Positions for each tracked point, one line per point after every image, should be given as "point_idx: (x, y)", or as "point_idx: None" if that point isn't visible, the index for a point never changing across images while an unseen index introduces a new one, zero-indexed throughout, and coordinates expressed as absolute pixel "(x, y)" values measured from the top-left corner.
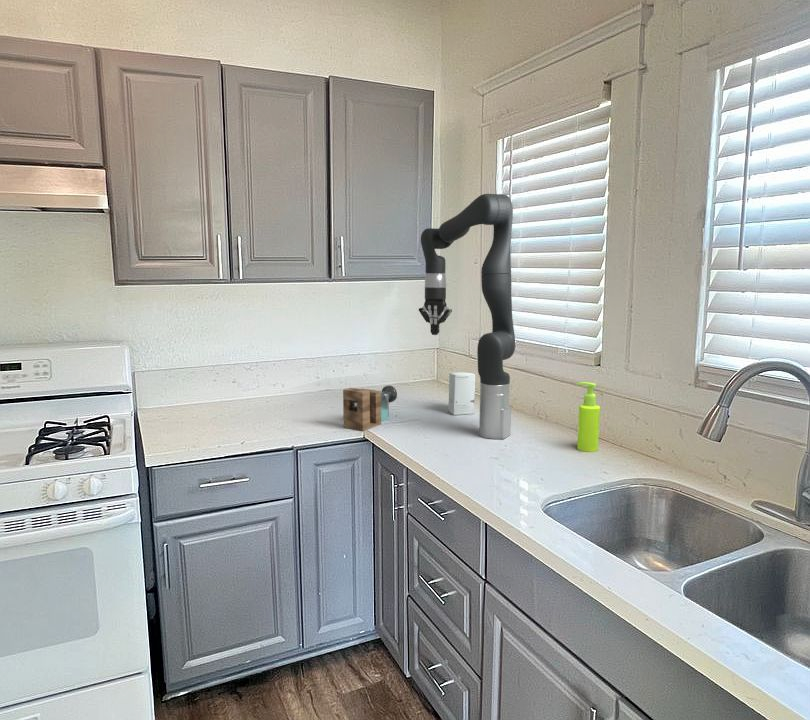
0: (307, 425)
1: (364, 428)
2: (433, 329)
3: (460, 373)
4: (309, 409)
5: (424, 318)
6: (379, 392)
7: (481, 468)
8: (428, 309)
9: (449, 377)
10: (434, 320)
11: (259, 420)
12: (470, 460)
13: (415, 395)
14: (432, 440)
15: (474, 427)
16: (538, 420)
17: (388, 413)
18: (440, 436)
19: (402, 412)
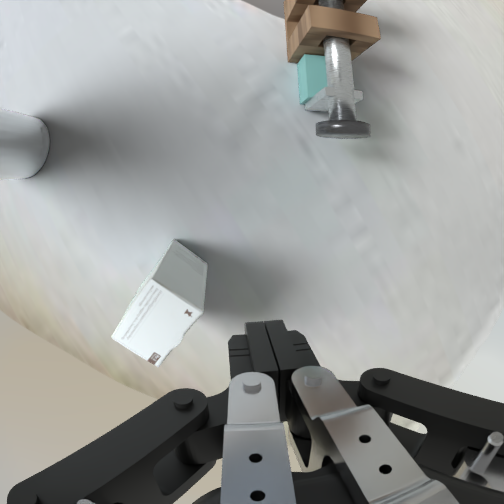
0: (399, 5)
1: (285, 5)
2: (270, 343)
3: (156, 318)
4: (474, 110)
5: (424, 384)
6: (310, 20)
7: (6, 4)
8: (432, 485)
9: (202, 302)
10: (271, 403)
11: (469, 18)
12: (23, 11)
13: (367, 352)
14: (112, 32)
15: (78, 172)
16: (21, 310)
17: (307, 107)
18: (109, 62)
19: (311, 186)
